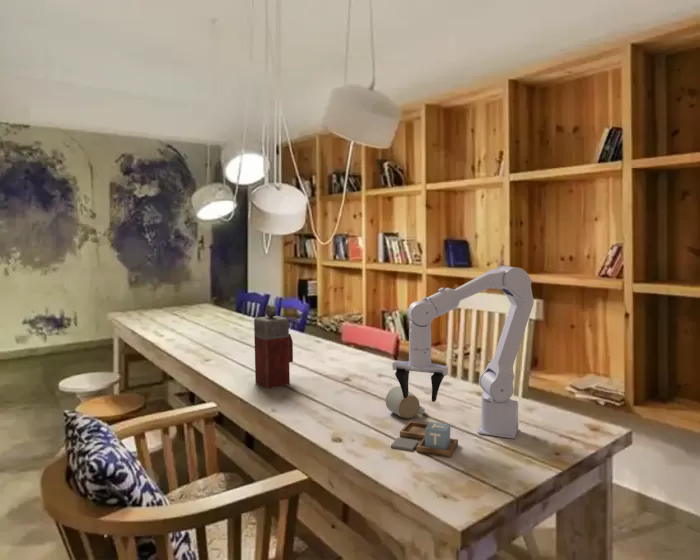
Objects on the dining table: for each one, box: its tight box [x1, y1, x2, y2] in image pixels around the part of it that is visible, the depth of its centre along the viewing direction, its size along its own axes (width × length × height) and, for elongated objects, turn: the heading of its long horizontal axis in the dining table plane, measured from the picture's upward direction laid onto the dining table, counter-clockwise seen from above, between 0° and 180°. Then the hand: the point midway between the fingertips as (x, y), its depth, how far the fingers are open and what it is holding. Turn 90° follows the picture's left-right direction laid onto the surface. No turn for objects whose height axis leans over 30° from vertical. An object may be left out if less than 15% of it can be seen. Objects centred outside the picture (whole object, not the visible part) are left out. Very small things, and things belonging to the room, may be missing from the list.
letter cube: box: [425, 421, 451, 450], centre depth 131 cm, size 5×5×5 cm
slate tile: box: [390, 436, 420, 452], centre depth 133 cm, size 6×6×1 cm
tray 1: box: [399, 420, 429, 441], centre depth 141 cm, size 8×8×1 cm
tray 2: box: [416, 437, 459, 458], centre depth 131 cm, size 8×8×1 cm
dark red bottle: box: [253, 304, 294, 390], centre depth 187 cm, size 9×11×28 cm
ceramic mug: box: [384, 385, 425, 420], centre depth 155 cm, size 11×8×8 cm
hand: (419, 398), depth 140 cm, fingers open, 7 cm apart
